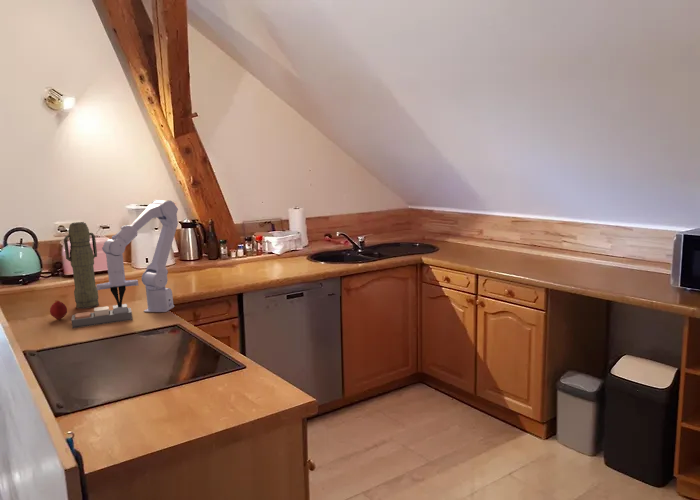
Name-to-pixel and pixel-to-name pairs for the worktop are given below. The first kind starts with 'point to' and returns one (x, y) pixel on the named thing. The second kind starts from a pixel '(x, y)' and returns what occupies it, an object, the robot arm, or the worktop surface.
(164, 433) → the worktop surface
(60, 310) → the onion
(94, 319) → the key panel
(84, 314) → the terracotta key
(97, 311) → the cream key
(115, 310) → the light gray key
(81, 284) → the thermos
